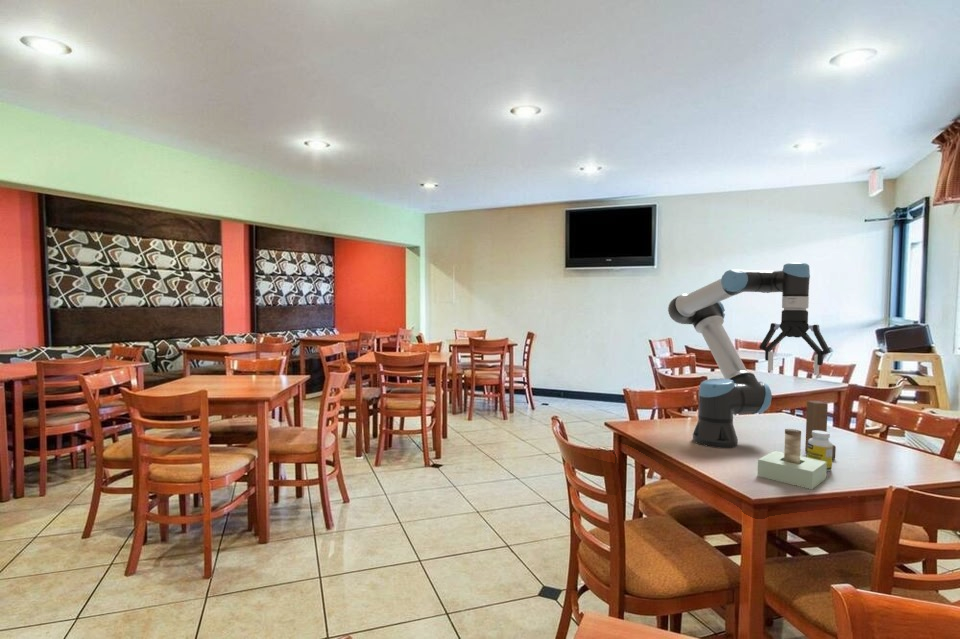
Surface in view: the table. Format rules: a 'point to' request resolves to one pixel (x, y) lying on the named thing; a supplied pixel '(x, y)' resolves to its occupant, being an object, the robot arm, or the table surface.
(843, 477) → the table surface
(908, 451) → the table surface
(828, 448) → the pill bottle
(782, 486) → the table surface
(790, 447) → the dowel
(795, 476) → the socket block
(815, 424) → the wooden block
